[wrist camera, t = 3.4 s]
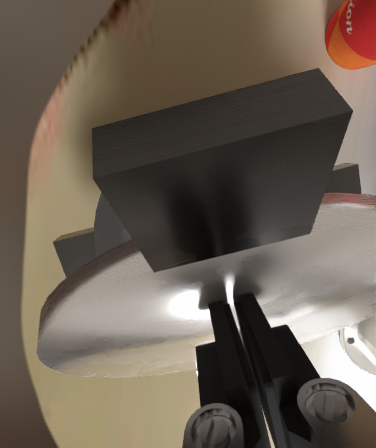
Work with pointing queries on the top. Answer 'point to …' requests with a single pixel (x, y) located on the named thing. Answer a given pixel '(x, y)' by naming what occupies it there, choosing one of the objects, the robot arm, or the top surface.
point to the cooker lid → (216, 231)
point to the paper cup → (353, 34)
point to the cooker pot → (117, 234)
